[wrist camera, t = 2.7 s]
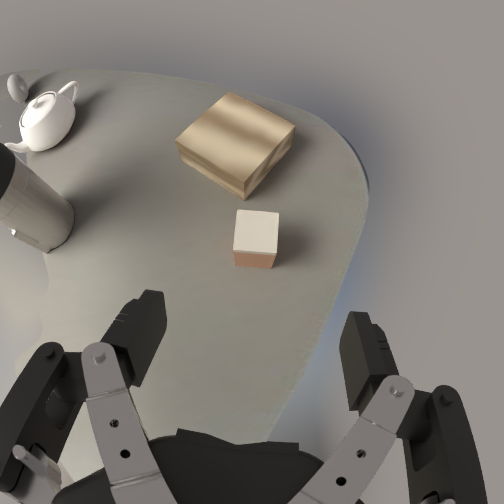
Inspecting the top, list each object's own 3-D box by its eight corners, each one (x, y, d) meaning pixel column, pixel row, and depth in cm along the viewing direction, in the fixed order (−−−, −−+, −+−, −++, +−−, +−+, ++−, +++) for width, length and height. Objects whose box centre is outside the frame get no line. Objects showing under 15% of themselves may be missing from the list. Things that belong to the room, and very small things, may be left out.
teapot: (75, 92, 52) (58, 63, 41) (101, 109, 50) (83, 75, 39) (12, 158, 47) (-13, 134, 37) (29, 185, 45) (0, 160, 34)
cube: (271, 268, 41) (276, 253, 33) (235, 265, 41) (232, 249, 33) (273, 234, 42) (279, 213, 35) (239, 231, 42) (237, 209, 35)
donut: (22, 93, 54) (7, 73, 44) (30, 87, 54) (16, 66, 45) (20, 110, 51) (3, 89, 42) (29, 103, 52) (13, 81, 42)
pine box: (244, 201, 44) (243, 182, 38) (182, 161, 46) (174, 140, 40) (290, 147, 47) (295, 125, 41) (230, 114, 49) (229, 91, 43)
